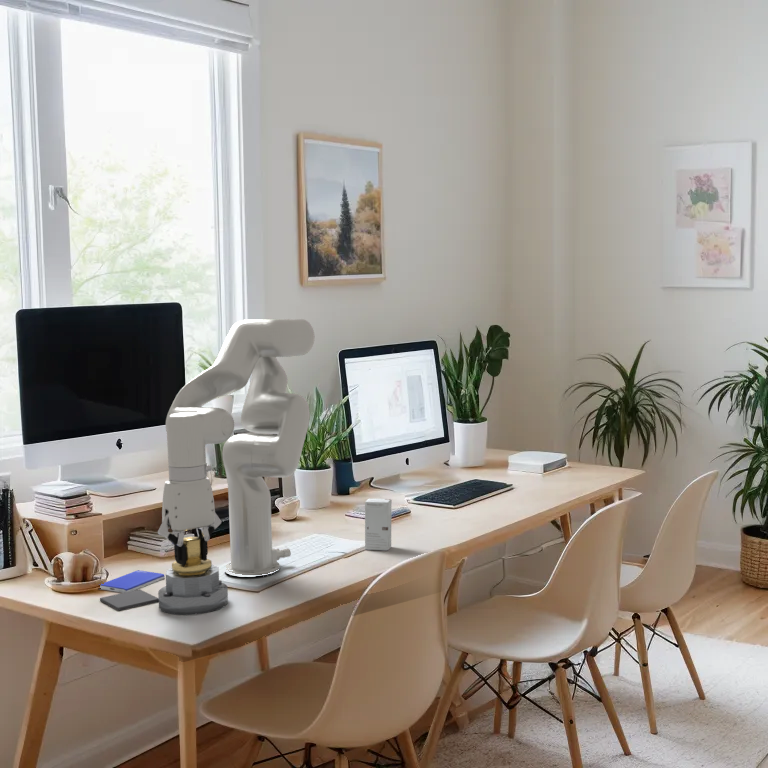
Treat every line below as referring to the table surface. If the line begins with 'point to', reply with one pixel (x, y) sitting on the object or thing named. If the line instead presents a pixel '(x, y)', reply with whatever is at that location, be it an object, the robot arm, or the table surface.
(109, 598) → the mat
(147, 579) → the hard drive
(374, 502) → the skincare box
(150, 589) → the table surface
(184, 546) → the robot arm
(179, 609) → the housing
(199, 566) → the brass flanged shaft
